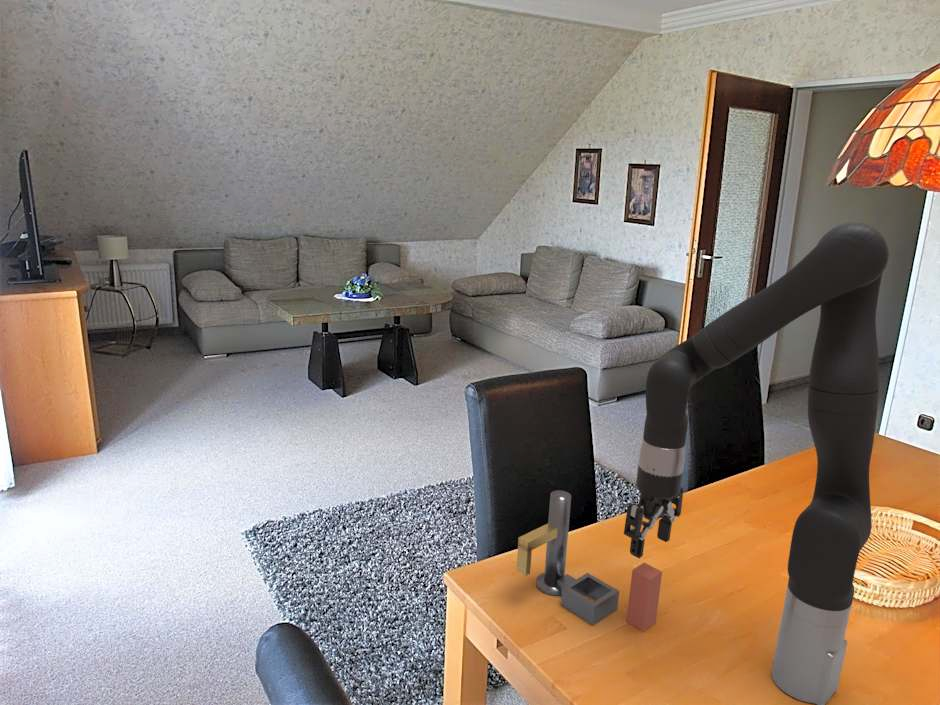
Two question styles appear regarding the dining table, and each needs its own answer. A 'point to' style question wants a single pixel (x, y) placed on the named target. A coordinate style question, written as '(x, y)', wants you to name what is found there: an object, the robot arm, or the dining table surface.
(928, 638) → the dining table surface
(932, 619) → the dining table surface
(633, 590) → the red rectangular block
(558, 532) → the grey stand
